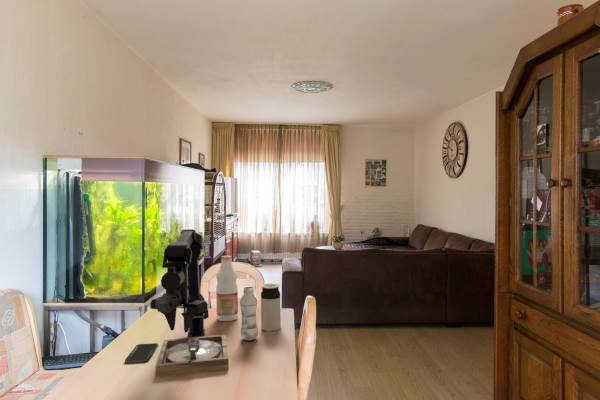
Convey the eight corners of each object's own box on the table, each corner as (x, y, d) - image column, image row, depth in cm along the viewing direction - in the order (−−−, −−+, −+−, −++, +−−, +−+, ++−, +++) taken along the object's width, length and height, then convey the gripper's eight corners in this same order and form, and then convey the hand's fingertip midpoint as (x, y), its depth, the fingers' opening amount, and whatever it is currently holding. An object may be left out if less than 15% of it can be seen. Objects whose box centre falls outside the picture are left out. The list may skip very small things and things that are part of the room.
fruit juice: (212, 318, 178) (211, 256, 177) (230, 313, 184) (229, 253, 183) (224, 323, 171) (223, 258, 170) (242, 318, 177) (241, 256, 177)
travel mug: (273, 333, 158) (272, 288, 158) (257, 329, 162) (256, 286, 162) (284, 327, 165) (283, 284, 165) (269, 323, 169) (268, 282, 169)
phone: (123, 361, 131) (137, 344, 146) (123, 364, 131) (137, 347, 146) (148, 360, 132) (159, 343, 147) (148, 363, 132) (159, 346, 147)
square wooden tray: (163, 349, 143) (163, 339, 143) (225, 343, 148) (225, 333, 148) (156, 377, 121) (155, 365, 121) (228, 369, 126) (228, 357, 126)
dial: (169, 346, 141) (168, 332, 141) (220, 341, 145) (220, 328, 145) (163, 368, 124) (163, 352, 124) (221, 362, 128) (221, 347, 128)
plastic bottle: (255, 343, 148) (254, 290, 147) (237, 342, 149) (237, 289, 149) (260, 336, 154) (259, 286, 154) (243, 335, 156) (242, 285, 155)
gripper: (137, 286, 123) (138, 336, 123) (186, 291, 116) (187, 344, 116) (161, 279, 133) (162, 324, 134) (208, 283, 126) (209, 331, 127)
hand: (179, 331), depth 127 cm, fingers open, 5 cm apart
